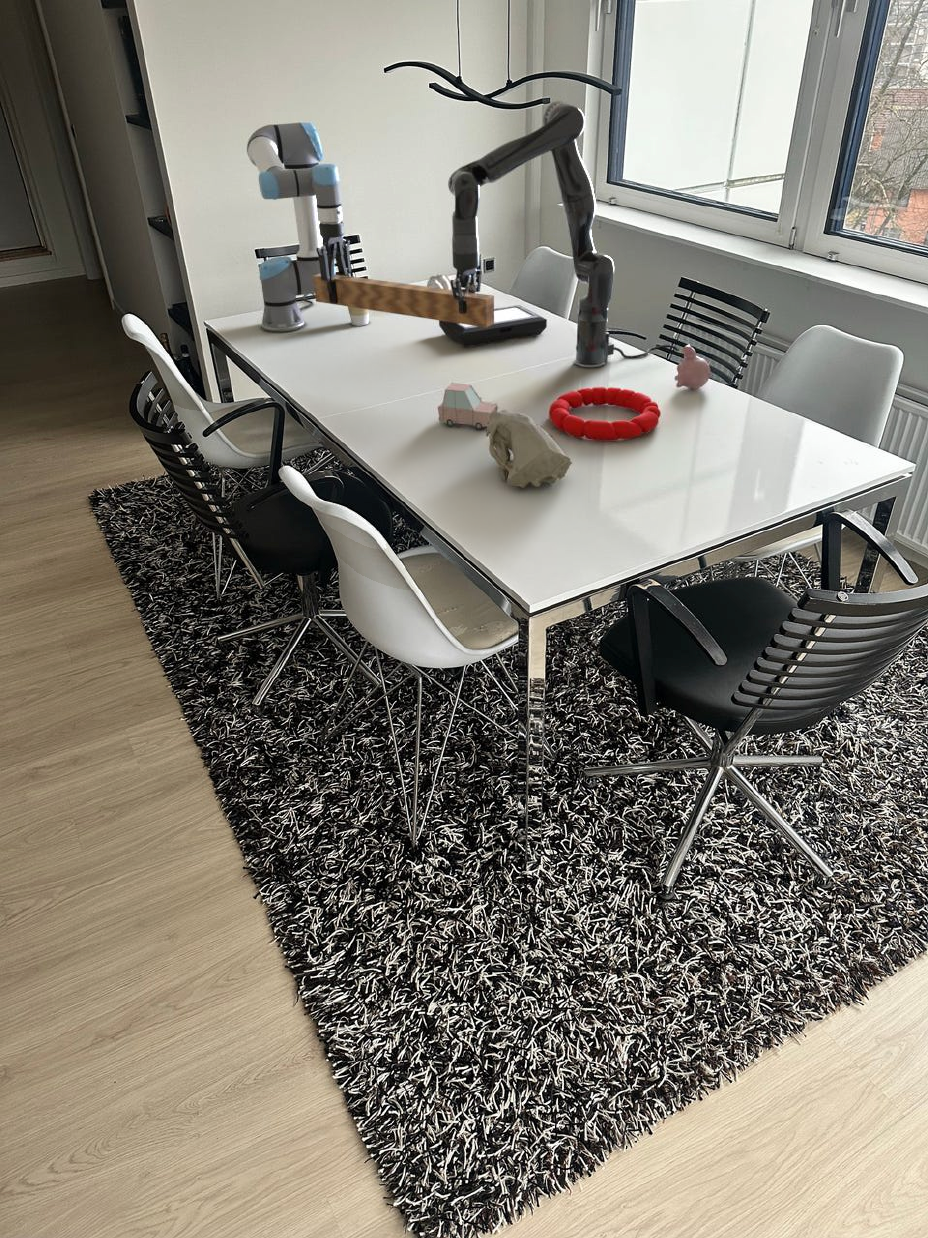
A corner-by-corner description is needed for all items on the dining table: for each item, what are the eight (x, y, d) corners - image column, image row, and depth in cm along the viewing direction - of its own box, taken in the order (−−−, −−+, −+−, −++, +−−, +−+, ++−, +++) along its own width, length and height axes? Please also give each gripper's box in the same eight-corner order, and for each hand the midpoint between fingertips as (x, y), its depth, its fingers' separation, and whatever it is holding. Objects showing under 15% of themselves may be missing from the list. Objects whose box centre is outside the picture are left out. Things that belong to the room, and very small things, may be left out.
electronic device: (462, 330, 295) (438, 315, 310) (462, 349, 298) (439, 333, 313) (546, 317, 305) (520, 303, 320) (546, 335, 309) (520, 320, 324)
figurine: (665, 387, 264) (669, 347, 257) (693, 380, 268) (698, 340, 261) (686, 396, 257) (690, 355, 250) (714, 388, 262) (720, 348, 255)
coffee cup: (372, 326, 323) (368, 283, 314) (345, 327, 323) (340, 284, 315) (374, 318, 331) (371, 276, 322) (348, 319, 331) (344, 277, 323)
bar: (315, 301, 285) (312, 275, 281) (324, 297, 288) (321, 272, 284) (486, 327, 257) (486, 299, 252) (494, 323, 260) (494, 295, 255)
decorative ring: (589, 435, 224) (684, 402, 234) (527, 398, 247) (617, 369, 256) (589, 461, 229) (683, 427, 238) (529, 422, 251) (617, 393, 260)
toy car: (488, 432, 240) (488, 396, 234) (436, 426, 244) (434, 390, 239) (499, 419, 247) (499, 384, 241) (448, 413, 252) (447, 379, 246)
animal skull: (496, 517, 219) (521, 479, 201) (463, 429, 225) (484, 384, 207) (557, 503, 225) (586, 465, 206) (523, 417, 231) (549, 373, 212)
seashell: (419, 300, 350) (418, 274, 344) (453, 294, 355) (452, 268, 350) (431, 306, 342) (430, 279, 336) (465, 300, 348) (465, 273, 342)
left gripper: (321, 228, 262) (330, 309, 275) (358, 217, 274) (365, 294, 287) (302, 226, 265) (312, 306, 279) (339, 215, 277) (346, 292, 291)
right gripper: (463, 256, 244) (465, 319, 253) (489, 245, 253) (490, 306, 263) (440, 253, 247) (443, 316, 257) (467, 242, 257) (469, 303, 267)
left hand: (339, 300), depth 283 cm, fingers closed on bar, 5 cm apart
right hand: (467, 310), depth 260 cm, fingers closed on bar, 4 cm apart
